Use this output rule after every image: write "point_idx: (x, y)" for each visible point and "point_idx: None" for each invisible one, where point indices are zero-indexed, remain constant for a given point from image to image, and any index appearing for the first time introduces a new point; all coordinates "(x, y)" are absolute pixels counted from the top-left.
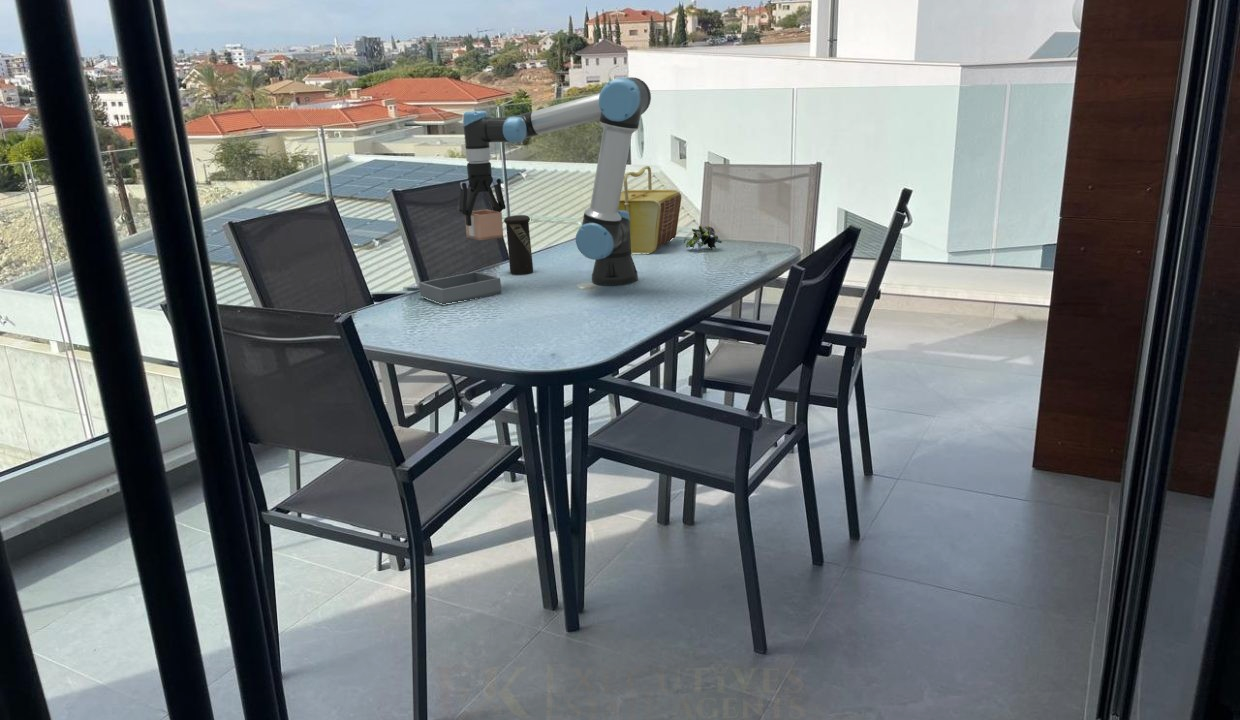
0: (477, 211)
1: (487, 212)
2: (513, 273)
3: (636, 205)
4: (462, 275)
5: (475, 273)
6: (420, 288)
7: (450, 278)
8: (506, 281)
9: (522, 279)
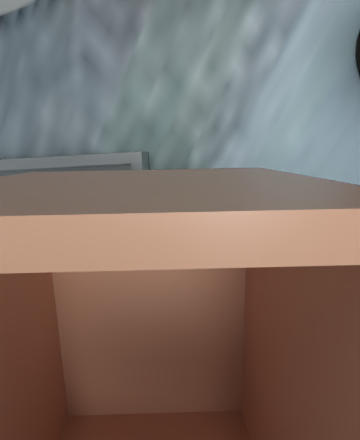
0: (113, 265)
1: (357, 305)
2: (357, 61)
3: None
4: (68, 166)
5: (132, 165)
6: None
7: (10, 169)
8: (266, 158)
9: (324, 175)
